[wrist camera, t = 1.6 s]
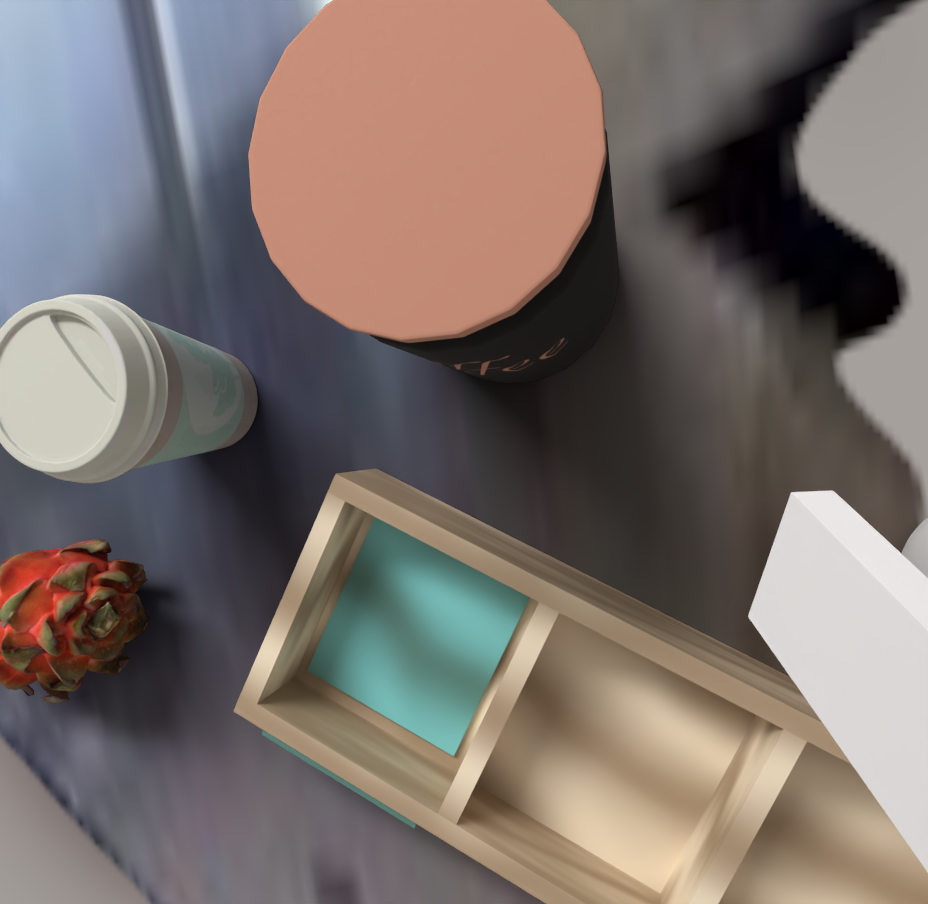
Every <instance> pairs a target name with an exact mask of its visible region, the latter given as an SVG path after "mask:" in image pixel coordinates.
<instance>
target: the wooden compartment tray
mask: <svg viewBox="0 0 928 904" xmlns="http://www.w3.org/2000/svg"><path fill="white" fill-rule="evenodd" d="M234 712H235V713H237V714H239V715H240V716H242V717H243V718H245V719H247V720H248V721H250V722H252V723H253V724H255V725H256V726H258V727H260V728H261V729H263V732H262V735H263V736H265V737H267V738H268V739H270V740H272V741H273V742H275V743H276V744H278V745H280V746H281V747H283V748H285V749H286V750H288V751H289V752H291V753H293V754H294V755H296V756H297V757H299V758H301V759H302V760H304V761H306V762H307V763H309V764H310V765H312V766H314V767H315V768H317V769H319V770H320V771H322V772H323V773H325V774H327V775H328V776H330V777H332V778H333V779H335V780H336V781H338V782H340V783H341V784H343V785H345V786H346V787H348V788H349V789H351V790H353V791H354V792H356V793H357V794H359V795H361V796H362V797H364V798H366V799H367V800H369V801H370V802H372V803H374V804H375V805H377V806H379V807H380V808H382V809H383V810H385V811H387V812H388V813H390V814H392V815H393V816H395V817H396V818H398V819H400V820H401V821H403V822H404V823H406V824H408V825H409V826H411V827H413V828H415V826H416V825H419V826H421V827H422V828H424V829H426V830H427V831H429V832H430V833H432V834H434V835H435V836H437V837H439V838H440V839H442V840H444V841H445V842H447V843H448V844H450V845H452V846H453V847H455V848H457V849H458V850H460V851H461V852H463V853H465V854H466V855H468V856H470V857H471V858H473V859H474V860H476V861H478V862H479V863H481V864H483V865H484V866H486V867H487V868H489V869H491V870H492V871H494V872H496V873H497V874H499V875H500V876H502V877H504V878H505V879H507V880H509V881H510V882H512V883H513V884H515V885H517V886H518V887H520V888H522V889H523V890H525V891H526V892H528V893H530V894H531V895H533V896H535V897H536V898H538V899H539V900H541V901H543V902H544V903H546V904H928V872H927V871H926V869H925V868H924V867H923V865H922V864H921V862H920V861H919V859H918V858H917V857H916V855H915V854H914V852H913V851H912V849H911V848H910V847H909V845H908V844H907V842H906V841H905V839H904V838H903V837H902V835H901V834H900V832H899V831H898V830H897V828H896V827H895V825H894V824H893V822H892V821H891V820H890V818H889V817H888V815H887V814H886V812H885V811H884V810H883V808H882V807H881V805H880V804H879V802H878V801H877V800H876V798H875V797H874V795H873V794H872V792H871V791H870V790H869V788H868V787H867V785H866V784H865V783H864V781H863V780H862V778H861V777H860V775H859V774H858V773H857V771H856V770H855V768H854V767H853V765H852V764H851V763H850V761H849V760H848V758H847V757H846V755H845V754H844V753H843V751H842V750H841V748H840V747H839V745H838V744H837V743H836V741H835V740H834V738H833V737H832V736H831V734H830V733H829V731H828V730H827V728H826V727H825V726H824V724H823V723H822V721H821V720H820V718H819V717H818V716H817V714H816V713H815V711H814V710H813V708H812V707H811V706H810V704H809V703H808V701H807V700H806V698H805V697H804V696H803V694H802V693H801V691H800V690H799V689H798V687H797V686H796V684H795V683H794V681H793V680H792V679H791V677H789V676H787V675H785V674H783V673H781V672H779V671H777V670H775V669H773V668H771V667H769V666H767V665H765V664H763V663H761V662H759V661H757V660H755V659H753V658H751V657H749V656H747V655H745V654H744V653H742V652H740V651H738V650H736V649H734V648H732V647H730V646H728V645H726V644H724V643H722V642H720V641H718V640H716V639H714V638H712V637H710V636H708V635H706V634H704V633H702V632H700V631H698V630H696V629H694V628H692V627H690V626H688V625H686V624H684V623H682V622H680V621H678V620H676V619H674V618H672V617H670V616H668V615H666V614H664V613H662V612H660V611H658V610H656V609H654V608H652V607H650V606H648V605H646V604H644V603H642V602H640V601H638V600H636V599H634V598H632V597H630V596H628V595H626V594H624V593H622V592H620V591H618V590H616V589H614V588H612V587H610V586H608V585H606V584H604V583H602V582H600V581H598V580H596V579H595V578H593V577H591V576H589V575H587V574H585V573H583V572H581V571H579V570H577V569H575V568H573V567H571V566H569V565H567V564H565V563H563V562H561V561H559V560H557V559H555V558H553V557H551V556H549V555H547V554H545V553H543V552H541V551H539V550H537V549H535V548H533V547H531V546H529V545H527V544H525V543H523V542H521V541H519V540H517V539H515V538H513V537H511V536H509V535H507V534H505V533H503V532H501V531H499V530H497V529H495V528H493V527H491V526H489V525H487V524H485V523H483V522H481V521H479V520H477V519H475V518H473V517H471V516H469V515H467V514H465V513H463V512H461V511H459V510H457V509H455V508H453V507H451V506H449V505H447V504H446V503H444V502H442V501H440V500H438V499H436V498H434V497H432V496H430V495H428V494H426V493H424V492H422V491H420V490H418V489H416V488H414V487H412V486H410V485H408V484H406V483H404V482H402V481H400V480H398V479H396V478H394V477H392V476H390V475H388V474H386V473H384V472H382V471H380V470H378V469H368V470H361V471H353V472H345V473H337V474H335V476H334V479H333V481H332V483H331V486H330V488H329V490H328V493H327V495H326V497H325V500H324V502H323V504H322V507H321V509H320V511H319V513H318V516H317V518H316V520H315V523H314V525H313V527H312V530H311V532H310V534H309V537H308V539H307V541H306V544H305V546H304V548H303V551H302V553H301V555H300V558H299V560H298V562H297V565H296V567H295V569H294V572H293V574H292V576H291V579H290V581H289V583H288V586H287V588H286V590H285V593H284V595H283V597H282V599H281V602H280V604H279V606H278V609H277V611H276V613H275V616H274V618H273V620H272V623H271V625H270V627H269V630H268V632H267V634H266V637H265V639H264V641H263V644H262V646H261V648H260V651H259V653H258V655H257V658H256V660H255V662H254V665H253V667H252V669H251V672H250V674H249V676H248V678H247V681H246V683H245V685H244V688H243V690H242V692H241V695H240V697H239V699H238V702H237V704H236V706H235V709H234Z"/></svg>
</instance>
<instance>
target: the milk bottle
mask: <svg viewBox="0 0 928 904" xmlns="http://www.w3.org/2000/svg"><path fill="white" fill-rule="evenodd" d="M901 554H902V555H903V556H904V557H905V558H906V559H908V560H909V561H910V562H911V563H912V564H913V565H914V566H915V567H916V568H917V569H918V570H919V571H921V572H922V573H923V574H924V575H925V576H926V577H927V578H928V517H927V518H926V519H925V520H924V521H923V522H922V523H921V524H920V525H919V526H918V527H917V528H916V529H915V530H914V532H913V533H912V534H911V536H910V537H909V539H908V540H907V542H906V544H905V546H904V548H903V550H902V553H901Z"/></svg>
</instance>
